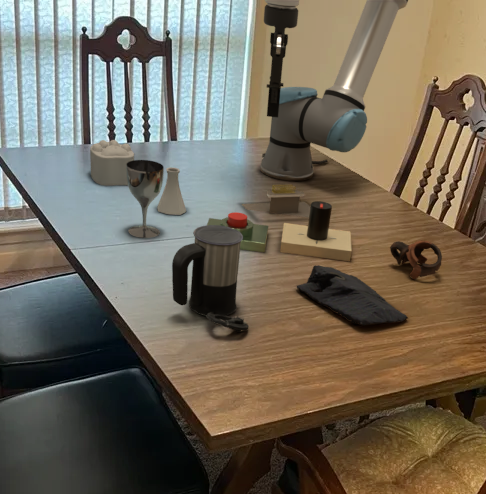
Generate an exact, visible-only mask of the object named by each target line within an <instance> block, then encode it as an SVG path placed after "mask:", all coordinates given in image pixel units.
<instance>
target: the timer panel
mask: <svg viewBox="0 0 486 494" xmlns="http://www.w3.org/2000/svg"><path fill="white" fill-rule="evenodd" d="M307 229H308V225H305V224H304V225H303V224H297V223H288V222H283V226H282V235H281V242H280V248H279V249H280V251H279V252H280V253H284V254H291V255H299V256H306V257H315V258H321V259H328V260H329V259H330V260H336V261H344V262H351V257H352V249H353V248H352V235H351V234H352V233H351V231H350V230H341V229H334V228H329V229H328V236H327V239H325V240H313V239H311V238H309V237H307Z"/></svg>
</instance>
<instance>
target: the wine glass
mask: <svg viewBox="0 0 486 494" xmlns="http://www.w3.org/2000/svg"><path fill="white" fill-rule="evenodd" d="M164 171H165V169H164V165H163V164H161V163H159V162H157V161H154V160H148V159H134V161H130V162H128V163H127V164H126V174H127V183H128V185H127V187H128V190H129V192H130V194H131V195H132V196H133V197H134V199H135V200H136V201H138V203H139V205H140V208H141V214H142V225H134V226H131V227H129V229H128V233H129V234H130V235H131V236H133V237H136V238H139V239H140V238H142V239H150V238H155V237H159V236H160V234H161V231H160V229H158V228H156V227H154V226H150V225H147V216H148V215H147V214H148V209H149V207H150V204H151V203H152V202H153V201H154V200H155V199H156V198H157V197H158V196H159V195H160V193H161V190H162V187H163V183H164Z"/></svg>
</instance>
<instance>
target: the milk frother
mask: <svg viewBox="0 0 486 494" xmlns="http://www.w3.org/2000/svg"><path fill="white" fill-rule="evenodd" d="M192 233H193V237H194V242H193V243H189V244H186V245H183V246H181V247H180V248H179V249H178V250H177V251H176V253H175V254H174V256H173V258H172V263H171V271H172V272H171V274H172V276H171V277H172V279H171V280H172V299H173V301H174V302H175V304H177V305H179V306H185V305H187V304H188V306H189V308H190V310H192V311H193V312H195V313H197V314H200V315H202V316H206V319H207V320H209V321H210V322H212V323H214V324H216V325H220V326H222V327H225V328H228V329H230V330H232V331H234V332H237V333H241V332H242V331H243V332H246V331H248V330H249V328H250V327H249V326H250V325H249V324H248V321H246V320H244V319H243V318H242V317H239V316H236V317H233V316H229V315H232V314H234V313H235V312H236V310H237V306H238V305H237V302H236V301H237V286H238V275H239V265H240V254H241V249H240V244H241V241H242V239H243V236H242V234H241V233H240V232H239V231H237V230H235V229H232V228H229V227H226V226H219V225H207V224H206V225H201V226H198V227H196V228H195V229H194V230H193V232H192ZM191 263H192V267H191V268H192V270H191V286H190V297H189V300H188V295H189V294H188V291H189V290H188V288H189V287H188V286H189V285H188V282H189V272H188V271H189V266H190V264H191Z"/></svg>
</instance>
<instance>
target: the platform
mask: <svg viewBox="0 0 486 494" xmlns="http://www.w3.org/2000/svg"><path fill="white" fill-rule="evenodd" d="M296 187H297V186H294V185H293V184H272V185H271V189H267V192H266V196H267V198H270V202H259V203H258V202H257V203H255V202H254V203H241V206H242V207H243V208H244V209H245V210H247V211H255V212H262V213H269V214H275V215H285V216H292V217H301V218H307V219H309V215H310V207H311V205H309V204H308V203H307V202H305V201H300V199H301V197H306V193H305V192H304V191H300V190H297V189H296Z"/></svg>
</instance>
